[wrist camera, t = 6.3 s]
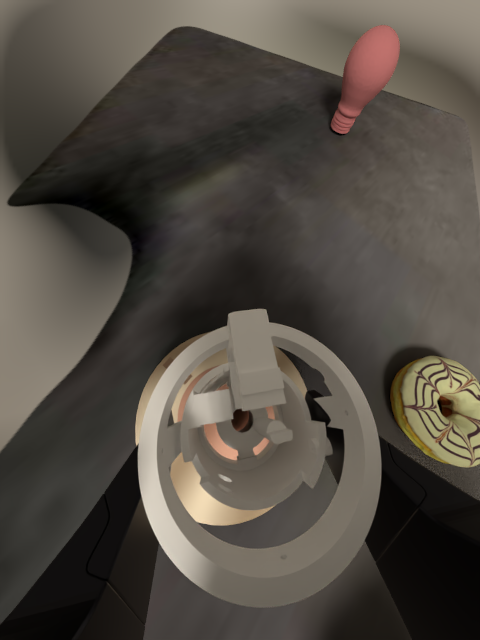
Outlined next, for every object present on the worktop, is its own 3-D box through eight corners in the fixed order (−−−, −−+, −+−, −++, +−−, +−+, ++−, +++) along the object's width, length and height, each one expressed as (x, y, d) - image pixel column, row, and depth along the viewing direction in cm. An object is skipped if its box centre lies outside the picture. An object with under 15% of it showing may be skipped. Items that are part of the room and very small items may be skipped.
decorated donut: (480, 405, 25) (524, 407, 22) (443, 482, 22) (488, 499, 18) (410, 342, 27) (440, 335, 23) (366, 405, 24) (393, 408, 20)
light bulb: (342, 150, 37) (397, 47, 26) (312, 128, 39) (353, 19, 27) (362, 136, 40) (422, 34, 28) (334, 115, 41) (380, 9, 29)
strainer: (263, 369, 21) (352, 295, 7) (280, 451, 18) (477, 596, 4) (191, 381, 20) (124, 322, 6) (198, 469, 17) (108, 739, 3)
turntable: (336, 397, 22) (342, 398, 21) (242, 568, 16) (243, 580, 15) (217, 304, 23) (217, 300, 22) (99, 431, 18) (92, 434, 17)
